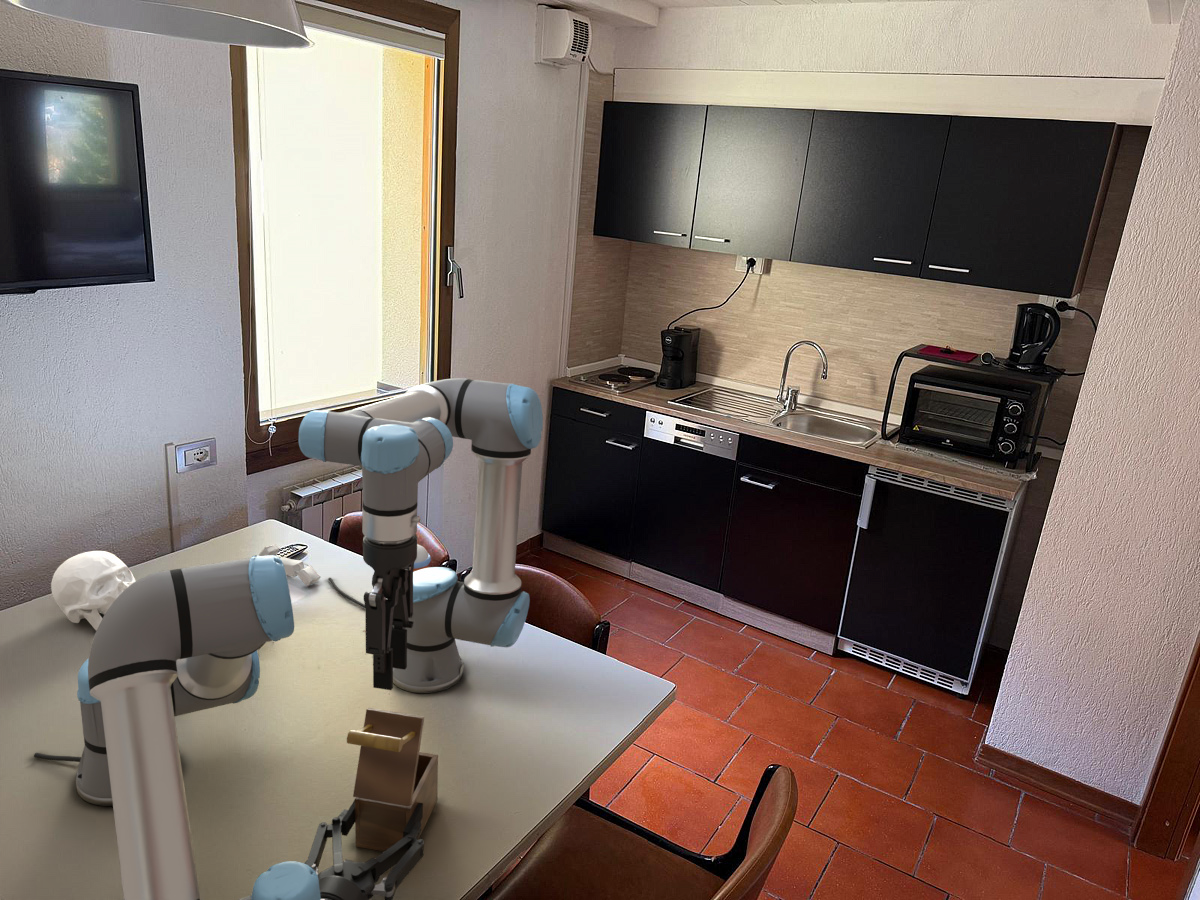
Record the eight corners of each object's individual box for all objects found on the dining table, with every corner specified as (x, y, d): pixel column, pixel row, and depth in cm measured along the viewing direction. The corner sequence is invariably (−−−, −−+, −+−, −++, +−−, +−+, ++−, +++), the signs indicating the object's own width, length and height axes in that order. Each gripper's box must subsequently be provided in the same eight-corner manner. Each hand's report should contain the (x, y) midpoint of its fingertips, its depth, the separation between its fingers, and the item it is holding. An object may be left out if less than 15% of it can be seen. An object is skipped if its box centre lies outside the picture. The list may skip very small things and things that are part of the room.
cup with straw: (421, 606, 210) (422, 538, 205) (387, 600, 212) (387, 533, 206) (435, 590, 219) (437, 525, 213) (402, 584, 220) (403, 520, 215)
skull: (118, 643, 184) (114, 575, 180) (38, 622, 190) (32, 556, 185) (165, 617, 196) (162, 554, 192) (89, 598, 202) (84, 536, 198)
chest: (386, 790, 147) (386, 746, 144) (437, 799, 146) (438, 754, 143) (355, 846, 135) (354, 798, 132) (410, 856, 134) (410, 808, 131)
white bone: (253, 565, 223) (254, 542, 221) (265, 560, 226) (266, 537, 224) (309, 593, 215) (310, 569, 213) (320, 588, 218) (321, 564, 216)
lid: (368, 707, 133) (345, 719, 124) (424, 716, 132) (405, 729, 123) (355, 794, 132) (331, 813, 123) (411, 804, 131) (391, 824, 122)
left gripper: (251, 925, 116) (326, 812, 138) (404, 955, 114) (456, 835, 135) (249, 881, 114) (325, 773, 136) (405, 911, 112) (457, 796, 133)
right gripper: (391, 564, 112) (391, 716, 119) (436, 514, 129) (434, 649, 136) (337, 557, 113) (340, 708, 120) (389, 508, 130) (389, 643, 137)
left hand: (390, 804), depth 135 cm, fingers closed on chest, 9 cm apart
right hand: (390, 676), depth 128 cm, fingers open, 5 cm apart
